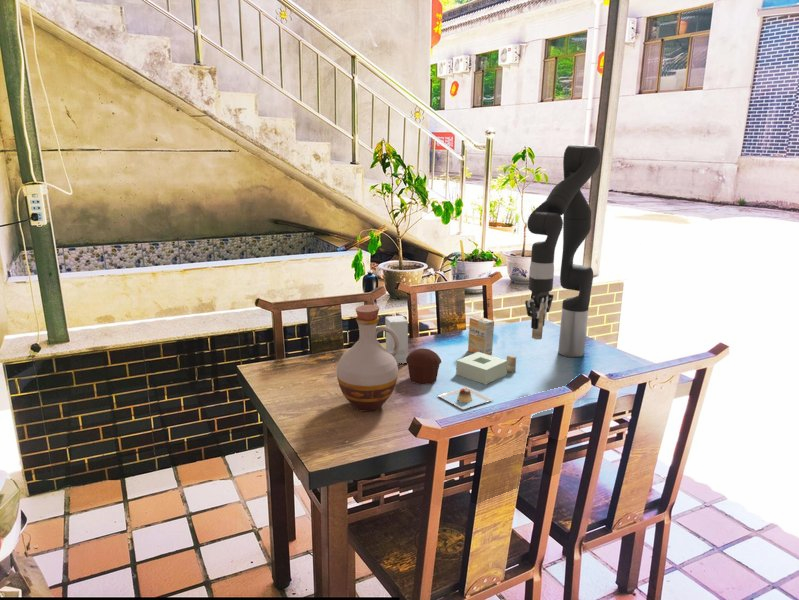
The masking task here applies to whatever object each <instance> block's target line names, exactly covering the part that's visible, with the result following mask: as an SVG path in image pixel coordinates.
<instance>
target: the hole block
mask: <svg viewBox="0 0 799 600" xmlns="http://www.w3.org/2000/svg"><path fill="white" fill-rule="evenodd" d="M455 367H456V370H455V374H456V376H460V377H463V378H465V379H468V380H471V381H475V382H478V383H480V384H483V385H488V384H490V383H491V382H493V381H495V380H498V379H500V378H502V377H504V376H506V375H507V359H503V358H499V357H497V356H494V355H492V354H491V355H487V354H484V353H481V352H476V353H472V354H469V355H467V356H465V357H464V356H463V357H462V358H459V359H457V360H456V366H455Z"/></svg>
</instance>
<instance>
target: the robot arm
mask: <svg viewBox="0 0 799 600" xmlns="http://www.w3.org/2000/svg"><path fill="white" fill-rule="evenodd" d="M562 160H563V161H562V162H563V163H562V168H563V169H562V170H563V180H561V181H560V182H559V183H557V184H555V186H554V187H553V189H552V190H551V191H550V193H549V194H548V195H547V198H546V199H545V200H544V201H543V202H542V203H541V204H540V205H539V206H537V207H536V208H535V209H534V210H533V211H532V212H531V213H530V214H529V217H528V219H527V223H526V225H527V229H528V231H529V232H530V233H531V234H534V235H540V236H541V235H542V236H546V238H545V240H544V241H537V242H534V243H533V244H532V246H531V253H530V254H531V257H530V265H529V272H528V273H529V275H528V290H529V291H530V292H531V294H530V299H529V300H525V302H524V304H525V308H526V309H525V310H526V313H527V317H530V318H531V323H530V324H531V325H530V326H531V329H538V324H539V313H540V311H541V310H542V304H543V303H545V304H544V317H543V327H545V320H546V316H547V313H550V310H551V307H552V304H553V303H552V302H553V299H554V294H551V293H550V292H552V291H553V285H554V273H555V264H554V263H555V262H554V261H555V254H556V253H555V250H556V246H557V245H558V240H559V238H560V234H561V231H562V230H563V231H562V235H563V236H562V239H563V240H562V257H561V265H560V272H559V273H560V274H559V275H560V276H559V280H560V281H559V282H560V286H561V288H562V289H565V290H569V291H570V290H571V291H576V292H578V295H577V296H573V297H572V296H571V297H568V298H565V299H563V300H562V303H561V304H562V306H561V315H560V316H561V317H560V318H561V319H560V329H559V339H558V340H559V342H558V350H557V351H558V353H559V355H562V356H564V357H568V358H579V357H580V358H581V357H583V356H584V355H585V348H586V339H587V329H588V318H589V317H588V316H589V307H590V302H591V301H590V300H591V296H592V295H591V294H592V287H593V282H594V281H593V280H594V269H593V268H592V266H587V265H581V264H575V263H574V259H575V258H574V257H575V254H576V252H577V250H578V249H579V247H581V245H582V244H583V242H584V241H585V239H586V238H587V237H588V235H589V234H590V232H591V228H592V227H591V226H592V210H591V207H590V204H589V203H588V201H587V199H586V197H585V196H584V194H583V192H582V188H583V186H585V184H586V183H587V182H588V181H589V180H590V179H591V178H592V176H593V175H594V174H595V172H596V171H597V170H598V169H599V166H600V163H601V150H600V148H599V147H598V146H596V145H589V144H569V145H568V146H566V148H565V149H564V154H563V159H562ZM562 216H563V218H562ZM535 307H539V308H535ZM535 311H537V312H535Z"/></svg>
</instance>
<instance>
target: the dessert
mask: <svg viewBox="0 0 799 600" xmlns="http://www.w3.org/2000/svg"><path fill="white" fill-rule="evenodd" d="M452 394H453V395H456V394H458V395H457V399H458V400H459V402H460V401H462V402H461V403H470V402H472V401H473V398H472V397H473V396H472V395H475V396H476V397H478V398H480V399H482V400H484V401H483V402H480V403H477V404H476V403H475V404H473V405H471V406H467V407H464V408H463V407H461V406H459V405H458V404H455V403H454V402H452V401H450V400H448V399H446V397H450V396H453V395H452ZM437 397H439V398H441V399H443V400H444V401H446V402H448V403H450V404H452V405H453V404H454V405H453V406H455V407H457V408H458V409H461V410H467V409H469V408H470V407H471V408H474V407H477V406H480V405H482V404H486V403H489V402H491V401H493V399H492V398H490V397H489V396H486V395H484V394H482V393H480V392H478V391H477V390H475V389H472V388H470V387H468V386H463V387H460V388H457V389H453V390H451V391H447V392H445V393H441V394H437ZM457 399H456V400H457ZM458 400H457V401H458Z"/></svg>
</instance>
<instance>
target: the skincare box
mask: <svg viewBox="0 0 799 600" xmlns="http://www.w3.org/2000/svg"><path fill="white" fill-rule="evenodd" d="M384 319H385V326H386V327H389V328H390V329H392V330H393V331H394V332H395V333H396V335H397V337H398V339H399V349H398V352H397V354H396V355H395V356H393V357H394V358H395V360H396V362H397V363H398V364H397V365H403V364H404V363H407V362H406V358H407V357H408V355H409V330H408V329H409V321H408V320H407V319H406V318H405V317H404V316H403V315H402V314H401V315H392V316H390V315H389V316H385V318H384ZM385 349H386V350H387V351H389V352H392V351H393V350H394V339H393V338H392V336H391V335H390V334H389V333H388V332H386V331H385ZM399 363H400V364H399ZM401 363H402V364H401ZM404 365H405V364H404Z"/></svg>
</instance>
